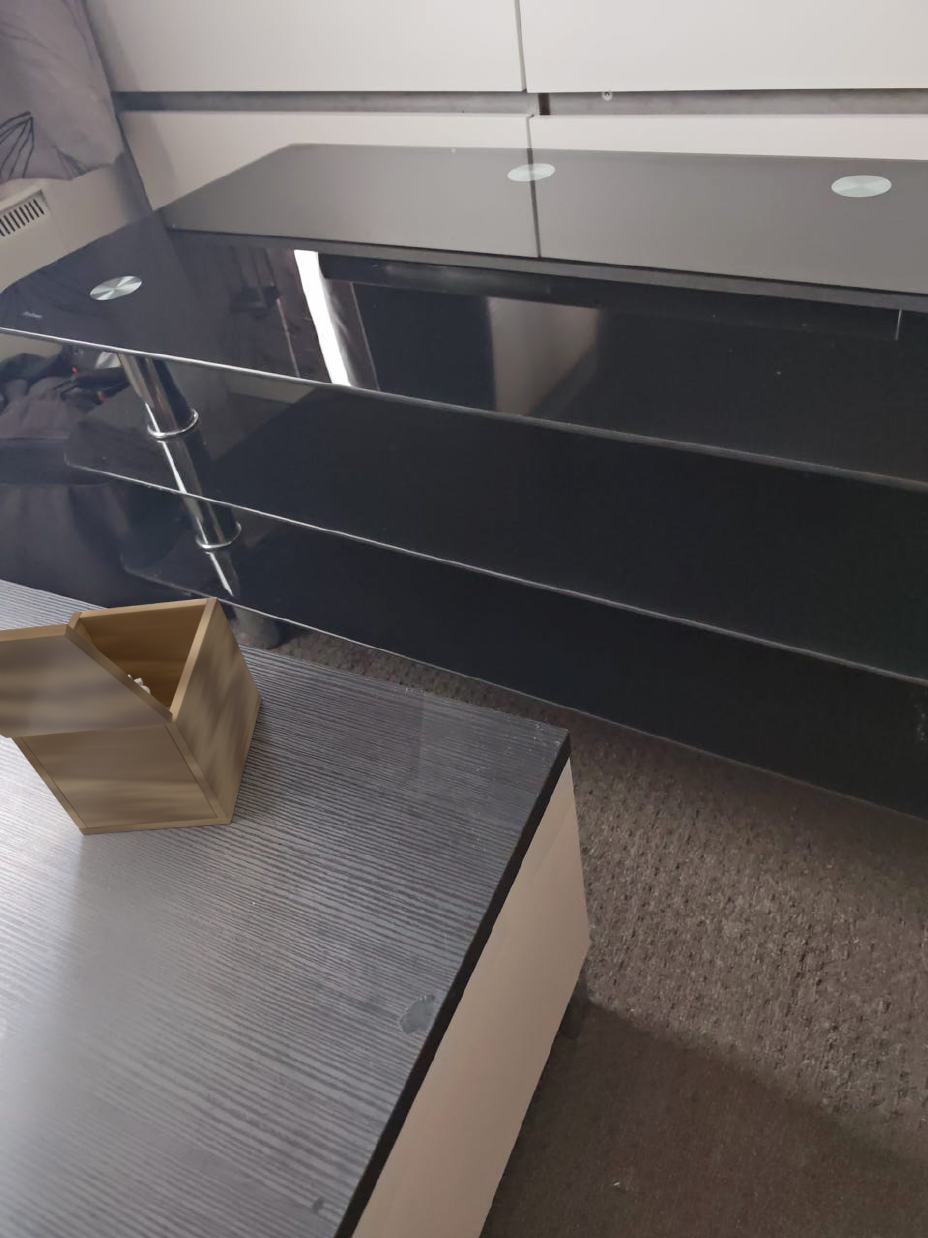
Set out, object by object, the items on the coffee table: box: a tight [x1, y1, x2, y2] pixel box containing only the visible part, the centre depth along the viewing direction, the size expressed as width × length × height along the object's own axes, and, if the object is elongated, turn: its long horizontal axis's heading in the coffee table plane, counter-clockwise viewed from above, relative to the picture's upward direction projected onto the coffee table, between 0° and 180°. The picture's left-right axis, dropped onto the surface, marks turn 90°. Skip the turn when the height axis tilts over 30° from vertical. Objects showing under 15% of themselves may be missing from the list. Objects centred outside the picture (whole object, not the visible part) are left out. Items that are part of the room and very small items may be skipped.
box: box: [11, 596, 263, 835], centre depth 75 cm, size 14×13×12 cm
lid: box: [0, 623, 173, 739], centre depth 59 cm, size 14×13×1 cm
